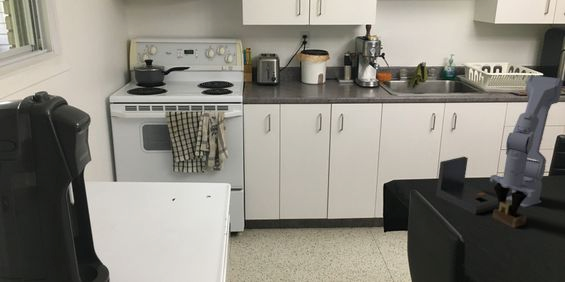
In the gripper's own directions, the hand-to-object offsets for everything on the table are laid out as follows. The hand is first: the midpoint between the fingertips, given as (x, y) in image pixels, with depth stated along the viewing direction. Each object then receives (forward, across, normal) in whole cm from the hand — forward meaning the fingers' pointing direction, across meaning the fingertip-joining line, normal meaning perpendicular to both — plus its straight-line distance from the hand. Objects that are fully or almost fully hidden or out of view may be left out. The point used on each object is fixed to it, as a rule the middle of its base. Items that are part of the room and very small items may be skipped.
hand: (507, 209), depth 155 cm
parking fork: (+4, 0, 0) cm, 4 cm away
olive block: (+3, 0, 0) cm, 3 cm away
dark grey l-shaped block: (+4, -16, 0) cm, 16 cm away
